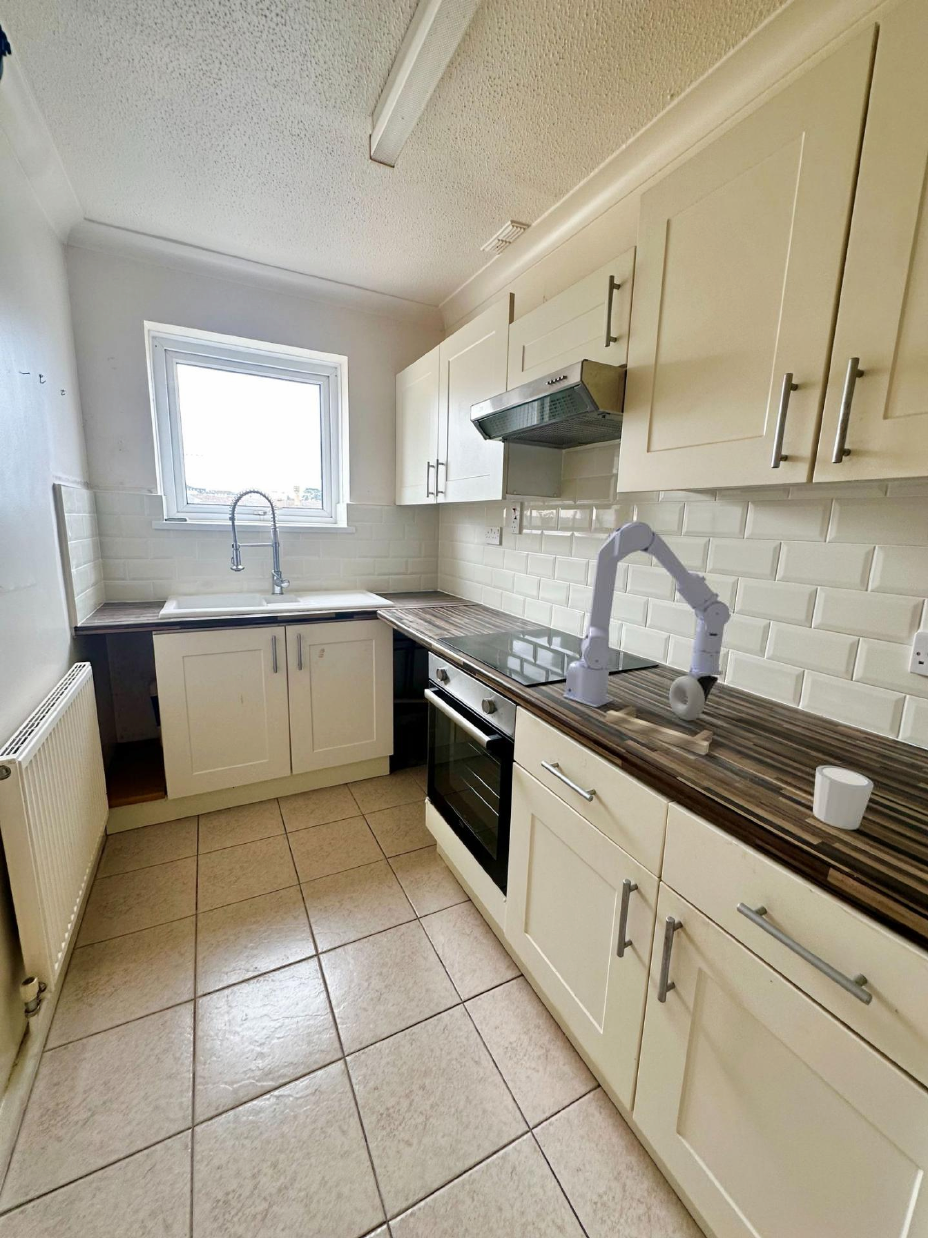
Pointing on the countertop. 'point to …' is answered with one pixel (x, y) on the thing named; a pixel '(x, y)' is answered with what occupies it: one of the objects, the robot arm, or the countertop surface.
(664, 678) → the countertop surface
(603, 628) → the robot arm
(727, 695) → the countertop surface
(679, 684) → the white rubber ring
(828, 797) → the white cylinder
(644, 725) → the drawer pull handle
